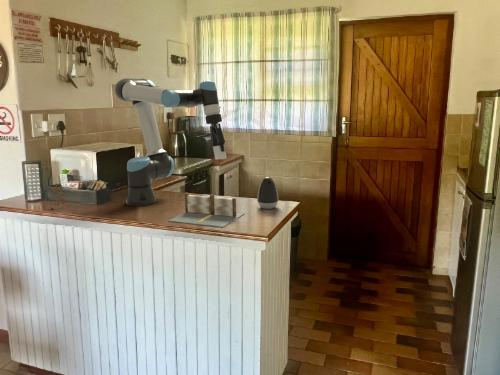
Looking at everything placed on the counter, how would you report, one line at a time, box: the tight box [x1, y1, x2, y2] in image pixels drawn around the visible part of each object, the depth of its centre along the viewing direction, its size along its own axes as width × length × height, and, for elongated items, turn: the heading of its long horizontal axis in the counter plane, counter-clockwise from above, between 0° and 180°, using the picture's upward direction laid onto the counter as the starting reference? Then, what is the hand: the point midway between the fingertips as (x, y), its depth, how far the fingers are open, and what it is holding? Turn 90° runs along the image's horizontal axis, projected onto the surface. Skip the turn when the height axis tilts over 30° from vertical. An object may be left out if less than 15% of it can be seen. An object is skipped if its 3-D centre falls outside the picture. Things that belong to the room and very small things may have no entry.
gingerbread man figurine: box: [51, 183, 68, 207], centre depth 215 cm, size 9×4×12 cm, turn 149°
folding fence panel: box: [214, 196, 237, 216], centre depth 193 cm, size 10×2×8 cm, turn 67°
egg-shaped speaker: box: [256, 176, 279, 210], centre depth 206 cm, size 10×10×15 cm
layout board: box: [167, 212, 245, 229], centre depth 193 cm, size 27×22×1 cm
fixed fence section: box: [184, 192, 215, 215], centre depth 198 cm, size 16×3×9 cm, turn 66°
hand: (220, 159), depth 204 cm, fingers open, 13 cm apart
